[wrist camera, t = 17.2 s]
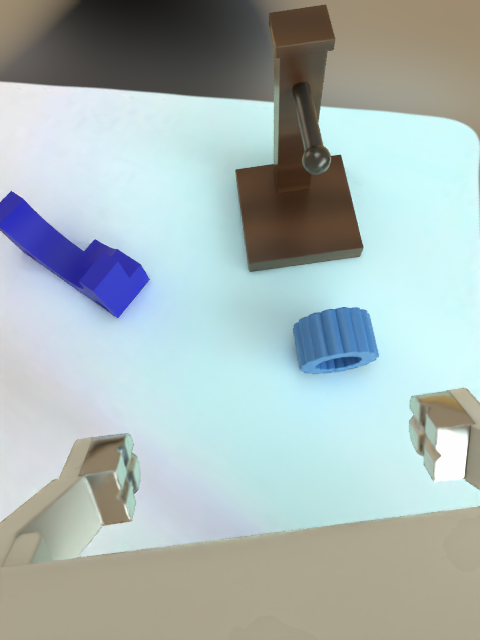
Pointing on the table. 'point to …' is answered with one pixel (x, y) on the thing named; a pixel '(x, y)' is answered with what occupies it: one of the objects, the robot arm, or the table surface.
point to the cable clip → (73, 257)
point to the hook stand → (298, 159)
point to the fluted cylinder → (335, 340)
